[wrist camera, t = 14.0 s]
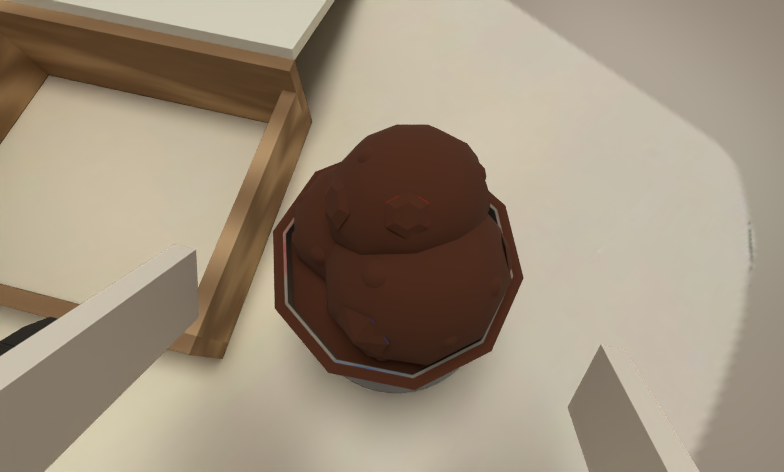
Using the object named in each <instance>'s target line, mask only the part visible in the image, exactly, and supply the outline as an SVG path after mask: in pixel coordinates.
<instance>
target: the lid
mask: <svg viewBox="0 0 784 472" xmlns="http://www.w3.org/2000/svg"><path fill="white" fill-rule="evenodd" d="M6 1H11V2H16V3H20V4H25V5H30V6H35V7H40V8H45V9H50V10H54V11H59V12H64V13H69V14H74V15H79V16H83V17H88V18H93V19H98V20H103V21H108V22H113V23H117V24H122V25H127V26H132V27H137V28H142V29H147V30H151V31H156V32H161V33H166V34H171V35H176V36H180V37H185V38H190V39H195V40H200V41H205V42H210V43H214V44H219V45H224V46H229V47H234V48H239V49H244V50H248V51H253V52H258V53H263V54H268V55H273V56H278V57H282V58H287V59H292V60H295V59H296V57H297V56H298V54H299V53H300V51H301V50H302V48H303V47H304V45H305V44H306V42H307V41H308V39H309V38H310V36H311V35H312V33H313V32H314V30H315V29H316V28H317V26H318V25H319V23H320V22H321V20H322V19H323V17H324V16H325V14H326V13H327V11H328V10H329V8H330V7H331V5H332V4H333V2H334V1H335V0H6Z"/></svg>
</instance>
